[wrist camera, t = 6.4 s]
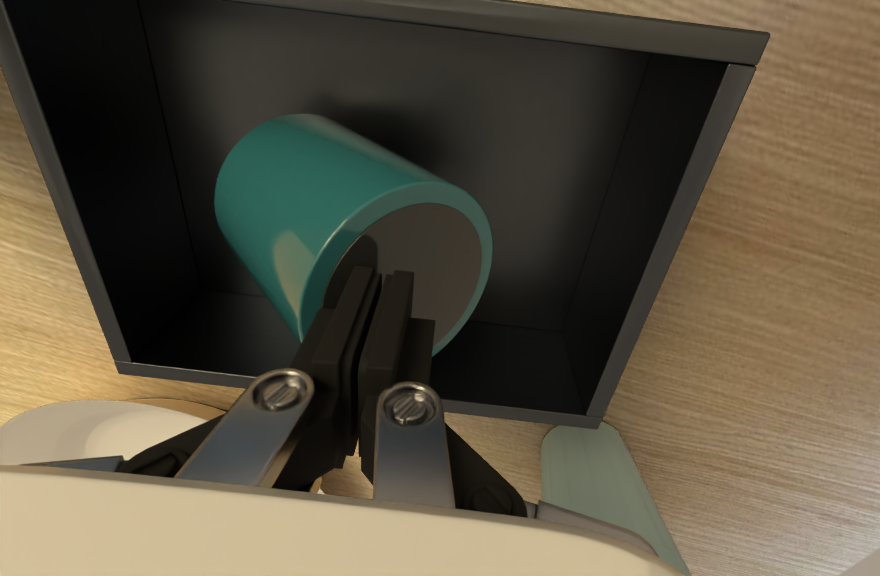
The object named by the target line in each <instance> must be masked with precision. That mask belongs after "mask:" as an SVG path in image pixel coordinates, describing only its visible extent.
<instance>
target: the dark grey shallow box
mask: <svg viewBox="0 0 880 576" xmlns="http://www.w3.org/2000/svg"><path fill="white" fill-rule="evenodd" d="M769 38H770V33H768V32H761V31H753V30H745V29H737V28H729V27H721V26H713V25H705V24H697V23H689V22H681V21H672V20H664V19H656V18H648V17H640V16H632V15H624V14H616V13H608V12H600V11H592V10H583V9H575V8H567V7H559V6H551V5H543V4H535V3H527V2H519V1H511V0H0V66H1V68H2V71H3V74H4V76H5V79H6V81H7V84H8V87H9V89H10V92H11V94H12V97H13V99H14V102H15V105H16V107H17V110H18V112H19V115H20V118H21V120H22V123H23V125H24V128H25V131H26V133H27V136H28V138H29V141H30V144H31V146H32V149H33V151H34V154H35V157H36V159H37V162H38V164H39V167H40V170H41V172H42V175H43V177H44V180H45V183H46V185H47V188H48V190H49V193H50V196H51V198H52V201H53V203H54V206H55V208H56V211H57V214H58V216H59V219H60V221H61V224H62V227H63V229H64V232H65V234H66V237H67V240H68V242H69V245H70V247H71V250H72V253H73V255H74V258H75V260H76V263H77V266H78V268H79V271H80V273H81V276H82V279H83V281H84V284H85V286H86V289H87V292H88V294H89V297H90V299H91V302H92V305H93V307H94V310H95V312H96V315H97V317H98V320H99V323H100V325H101V328H102V330H103V333H104V336H105V338H106V341H107V343H108V346H109V349H110V351H111V354H112V356H113V359H114V360H115V361H114V362H115V365H116V368H117V370H118V373H119V374H125V375H133V376H142V377H150V378H159V379H168V380H176V381H185V382H193V383H202V384H210V385H219V386H227V387H236V388H244V389H246V388H247V387H248V386H249V384H250V383H251V382H253V381H254V380H255V379H256V378H257V377H259V376H260V375H262V374H264V373H266V372H269V371H272V370H275V369H282V368H289V367H290V365H291V363H292V361H293V359H294V357H295V355H296V353H297V351H298V349H299V347H300V345H299V344H298V342H297V341H296V339H295V338H294V336H293V335H292V334H291V332H290V331H289V329H288V328H287V327H286V325H285V324H284V322H283V321H282V320H281V318H280V317H279V315H278V314H277V312H276V311H275V310H274V308H273V307H272V305H271V304H270V303H269V301H268V300H267V298H266V297H265V295H264V294H263V293H262V291H261V290H260V288H259V287H258V286H257V284H256V283H255V281H254V280H253V279H252V277H251V276H250V274H249V273H248V271H247V270H246V269H245V267H244V266H243V264H242V263H241V262H240V260H239V259H238V257H237V256H236V255H235V253H234V252H233V250H232V249H231V247H230V246H229V245H228V243H227V241H226V240H225V238H224V237H223V235H222V233H221V230H220V228H219V226H218V222H217V218H216V214H215V204H214V199H215V188H216V183H217V178H218V175H219V173H220V170H221V167H222V165H223V163H224V161H225V159H226V157H227V156H228V154H229V153H230V152H231V150H232V149H233V147H234V146H235V145H236V144H237V143H238V142H239V141H240V140H241V139H242V138H243V137H244V136H245V135H246V134H247V133H249V132H250V131H251V130H253V129H254V128H256V127H257V126H259V125H261V124H262V123H264V122H267V121H269V120H271V119H274V118H277V117H281V116H285V115H290V114H299V113H300V114H315V115H320V116H324V117H327V118H330V119H333V120H335V121H337V122H339V123H341V124H343V125H345V126H346V127H348V128H350V129H352V130H354V131H356V132H358V133H359V134H361V135H363V136H365V137H367V138H369V139H371V140H373V141H374V142H376V143H378V144H380V145H382V146H384V147H386V148H387V149H389V150H391V151H393V152H395V153H397V154H399V155H400V156H402V157H404V158H406V159H408V160H410V161H412V162H413V163H415V164H417V165H419V166H421V167H423V168H425V169H427V170H428V171H430V172H432V173H434V174H436V175H438V176H440V177H441V178H443V179H445V180H447V181H449V182H451V183H453V184H454V185H456V186H458V187H460V188H462V189H464V190H465V191H467V192H468V193H469V194H471V195H472V196H473V197H474V198H475V199H476V200H477V201H478V202H479V204H480V205H481V207H482V208H483V210H484V212H485V213H486V215H487V218H488V220H489V223H490V227H491V231H492V238H493V258H492V265H491V270H490V274H489V278H488V281H487V284H486V286H485V289H484V292H483V294H482V296H481V298H480V300H479V302H478V304H477V306H476V308H475V310H474V311H473V313H472V314H471V316H470V317H469V319H468V321H467V322H466V323H465V325H464V326H463V327H462V328H461V330H460V331H459V332H458V333H457V334H456V336H455V337H454V338H453V339H452V340H451V341H450V342H449V343H448V344H447V345H446V346H445V347H444V348H443V349H442V350H440V351H439V352H438V353H437V354H436V355H435V356H433V357H432V359H431V369H430V378H429V387H430V388H432V389H433V390H435V392H436V393H437V394H438V395H439V397H440V399H441V402H442V406H443V412H450V413H458V414H467V415H475V416H484V417H492V418H501V419H509V420H518V421H527V422H535V423H544V424H552V425H561V426H569V427H578V428H586V429H595V430H598V428H599V426H600V423H601V421H602V419H603V416H604V414H605V412H606V410H607V407H608V405H609V403H610V400H611V398H612V396H613V394H614V391H615V389H616V387H617V385H618V382H619V380H620V378H621V375H622V373H623V371H624V369H625V366H626V364H627V362H628V360H629V357H630V355H631V353H632V350H633V348H634V346H635V344H636V341H637V339H638V337H639V335H640V332H641V330H642V328H643V325H644V323H645V321H646V319H647V316H648V314H649V312H650V310H651V307H652V305H653V303H654V300H655V298H656V296H657V294H658V291H659V289H660V287H661V284H662V282H663V280H664V278H665V275H666V273H667V271H668V269H669V266H670V264H671V262H672V259H673V257H674V255H675V253H676V250H677V248H678V246H679V244H680V241H681V239H682V237H683V234H684V232H685V230H686V228H687V225H688V223H689V221H690V219H691V216H692V214H693V212H694V209H695V207H696V205H697V203H698V200H699V198H700V196H701V194H702V191H703V189H704V187H705V184H706V182H707V180H708V178H709V175H710V173H711V171H712V168H713V166H714V164H715V162H716V159H717V157H718V155H719V153H720V150H721V148H722V146H723V143H724V141H725V139H726V137H727V134H728V132H729V130H730V128H731V125H732V123H733V121H734V118H735V116H736V114H737V112H738V109H739V107H740V105H741V103H742V100H743V98H744V96H745V93H746V91H747V89H748V87H749V84H750V82H751V80H752V78H753V75H754V73H755V71H756V67H755V65H757V64H758V63H759V61H760V58H761V56H762V54H763V51H764V49H765V47H766V45H767V42H768V40H769Z"/></svg>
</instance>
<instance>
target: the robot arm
mask: <svg viewBox="0 0 880 576" xmlns="http://www.w3.org/2000/svg"><path fill="white" fill-rule="evenodd" d="M413 288H414V272H410V271H400V270H395V271H394V274H393V275H390V274H387V275H386V278H385V281H384V284H383V287H382V274H380V273H375V268H372V267H363V266H354V268H353V270H352V272H351V275H350V277H349V279H348V281H347V283H346V286H345V288H344V290H343V292H342V294H341V297H340V299H339V301H338V303H337V306H336V308H335V309H327V308H320V309H319V310H318V312H317V314H316V315H315V317H314V319H313V321H312V323H311V325H310V327H309V329H308V331H307V333H306V335H305V337H304V339H303V341H302V343H301V345H300V347H299V349H298V351H297V353H296V355H295V357H294V359H293V361H292V363H291V365H290V367H289V368H282V369H275V370H272V371H269V372H266V373H264V374H262V375H260V376H259V377H257V378H256V379H255V380H254V381H253V382H251V383H250V384H249V386H248V387H247V388H246V389H245V391H244V392H243V393H242V394H241V395H240V397H239V398H238V399H237V400H236V402H235V403H234V404H233V405H232V406H231V408H230V409H229V410H228V411H227V413H225V414H222V415H220V416H218V417H216V418H213V419H211V420H209V421H207V422H205V423H202V424H200V425H198V426H196V427H194V428H191V429H189V430H187V431H185V432H183V433H180V434H178V435H176V436H174V437H171V438H169V439H167V440H165V441H163V442H160V443H158V444H156V445H154V446H152V447H149V448H147V449H145V450H143V451H142V452H140V453H138V454H136V455H135V456H133V457H132V458H131V459H130V460H124V457H123V455H119V456H108V457H96V458H85V459H74V460H63V461H51V462H40V463H29V464H20V465H0V576H686V575H685V574H683V573H682V572H680V571H679V570H677V569H676V568H675V567H673V566H671V565H670V564H668V563H667V562H665V561H663V560H662V559H660V557H659V556H658V554H657V553H656V551H655V550H654V548H653V547H652V545H650V544H649V543H648V542H647V541H646V540H645V539H644V538H643V537H642V536H640V535H638V534H636V533H634V532H632V531H630V530H629V529H626V528H623V527H620V526H617V525H614V524H611V523H608V522H605V521H601V520H598V519H595V518H592V517H589V516H586V515H583V514H580V513H577V512H574V511H571V510H568V509H565V508H562V507H559V506H556V505H553V504H550V503H547V502H544V501H541V500H539V501H538V504H534V503H530V502H527V501H524V500H523V498H522V497H521V496H520V494H519V493H518V492H517V491H516V489H515V488H514V487H513V486H512V485H511V484H509V483H508V482H507V481H506V480H505V479H504V478H503V477H502V476H501V475H500V474H499V473H498V472H497V471H496V470H495V469H494V468H492V467H491V466H490V465H489V464H488V463H487V462H486V461H485V460H484V459H483V458H482V457H481V456H480V455H479V454H478V453H477V452H476V451H474V450H473V449H472V448H471V447H470V446H469V445H468V444H467V443H466V442H465V441H464V440H463V439H462V438H461V437H460V436H459V435H458V434H456V433H455V432H454V431H453V430H452V429H451V428H450V427H449V426H448V425H447V424H446V423H445V421H444V413H443V406H442V402H441V399H440V397H439V395H438V394H437V393H436V392H435V390H433V389H432V388H430V387H429V378H430V369H431V359H432V350H433V341H434V331H435V322H436V320H430V319H420V318H411V316H412V302H413ZM358 438H359V457H361V471H362V472H363V474H364V475H365V476H366V477H367V479H368V480H369V481H370V482H371V484H372V485H373V499H365V498H356V497H347V496H338V495H329V494H320V493H318V491H319V489H320V485H321V482H322V476H323V475H324V474H326V473H327V472H329V471H331V470H332V469H334V468H338V469H342V468H343V465H344V461H345V457H346V455H347V456H353V455H354V452H355V449H356V445H357V441H358Z"/></svg>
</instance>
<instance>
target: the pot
mask: <svg viewBox="0 0 880 576" xmlns="http://www.w3.org/2000/svg"><path fill="white" fill-rule="evenodd" d="M214 204H215V214H216V218H217V222H218V226H219V228H220V230H221V233H222V235H223V237H224V238H225V240H226V241H227V243H228V245H229V246H230V247H231V249H232V250H233V252H234V253H235V255H236V256H237V257H238V259H239V260H240V262H241V263H242V264H243V266H244V267H245V269H246V270H247V271H248V273H249V274H250V276H251V277H252V279H253V280H254V281H255V283H256V284H257V286H258V287H259V288H260V290H261V291H262V293H263V294H264V295H265V297H266V298H267V300H268V301H269V303H270V304H271V305H272V307H273V308H274V310H275V311H276V312H277V314H278V315H279V317H280V318H281V320H282V321H283V322H284V324H285V325H286V327H287V328H288V329H289V331H290V332H291V334H292V335H293V336H294V338H295V339H296V341H297V342H298V344H299V345H301V343H302V341H303V339H304V337H305V335H306V333H307V331H308V329H309V327H310V325H311V323H312V321H313V319H314V317H315V315H316V314H317V312H318V310H319V309H320V308H327V309H335V308H336V306H337V303H338V301H339V299H340V297H341V294H342V292H343V290H344V288H345V286H346V283H347V281H348V279H349V277H350V275H351V272H352V270H353V268H354V266H363V267H372V268H375V273H380V274H382V287H383V284H384V281H385V278H386V275H387V274H390V275H393V274H394V271H395V270H400V271H410V272H414V288H413V302H412V316H411V318H420V319H430V320H436V322H435V331H434V341H433V350H432V357H433V356H435V355H436V354H437V353H438V352H439V351H440V350H442V349H443V348H444V347H445V346H446V345H447V344H448V343H449V342H450V341H451V340H452V339H453V338H454V337H455V336H456V334H457V333H458V332H459V331H460V330H461V328H462V327H463V326H464V325H465V323H466V322H467V321H468V319H469V317H470V316H471V314H472V313H473V311H474V310H475V308H476V306H477V304H478V302H479V300H480V298H481V296H482V294H483V292H484V289H485V286H486V284H487V281H488V278H489V274H490V270H491V265H492V258H493V238H492V231H491V227H490V223H489V220H488V218H487V215H486V213H485V212H484V210H483V208H482V207H481V205H480V204H479V202H478V201H477V200H476V199H475V198H474V197H473V196H472V195H471V194H469V193H468V192H467V191H465V190H464V189H462V188H460V187H458V186H456V185H454V184H453V183H451V182H449V181H447V180H445V179H443V178H441V177H440V176H438V175H436V174H434V173H432V172H430V171H428V170H427V169H425V168H423V167H421V166H419V165H417V164H415V163H413V162H412V161H410V160H408V159H406V158H404V157H402V156H400V155H399V154H397V153H395V152H393V151H391V150H389V149H387V148H386V147H384V146H382V145H380V144H378V143H376V142H374V141H373V140H371V139H369V138H367V137H365V136H363V135H361V134H359V133H358V132H356V131H354V130H352V129H350V128H348V127H346V126H345V125H343V124H341V123H339V122H337V121H335V120H333V119H330V118H327V117H324V116H320V115H315V114H300V113H299V114H290V115H285V116H281V117H277V118H274V119H271V120H269V121H267V122H264V123H262V124H261V125H259V126H257V127H256V128H254V129H253V130H251V131H250V132H249V133H247V134H246V135H245V136H244V137H243V138H242V139H241V140H240V141H239V142H238V143H237V144H236V145H235V146H234V147H233V149H232V150H231V152H230V153H229V154H228V156H227V157H226V159H225V161H224V163H223V165H222V167H221V170H220V173H219V175H218V178H217V183H216V188H215V199H214Z"/></svg>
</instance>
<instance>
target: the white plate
mask: <svg viewBox="0 0 880 576" xmlns="http://www.w3.org/2000/svg"><path fill="white" fill-rule="evenodd" d="M225 413H227V412H226V411H223V410H220V409H217V408H214V407H211V406H207V405H203V404H199V403H194V402H190V401H184V400H176V399H165V398H149V399H133V400H119V401H115V400H77V401H66V402H59V403H53V404H48V405H44V406H40V407H37V408H34V409H31V410H28V411H26V412H23V413H21V414H19V415H17V416H16V417H14V418H12V419H11V420H9V421H8V422H6V423H5V424H4V425H3V426H2V427H1V428H0V465H20V464H29V463H40V462H51V461H63V460H74V459H85V458H96V457H108V456H119V455H123V457H124V460H130V459H131V458H132V457H133V456H135V455H136V454H138V453H140V452H142V451H143V450H145V449H147V448H149V447H152V446H154V445H156V444H158V443H160V442H163V441H165V440H167V439H169V438H171V437H174V436H176V435H178V434H180V433H183V432H185V431H187V430H189V429H191V428H194V427H196V426H198V425H200V424H202V423H205V422H207V421H209V420H211V419H213V418H216V417H218V416H220V415H222V414H225ZM318 493H320V494H325V493H324V492H323V491H322V490H321V489H319V491H318Z"/></svg>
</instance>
